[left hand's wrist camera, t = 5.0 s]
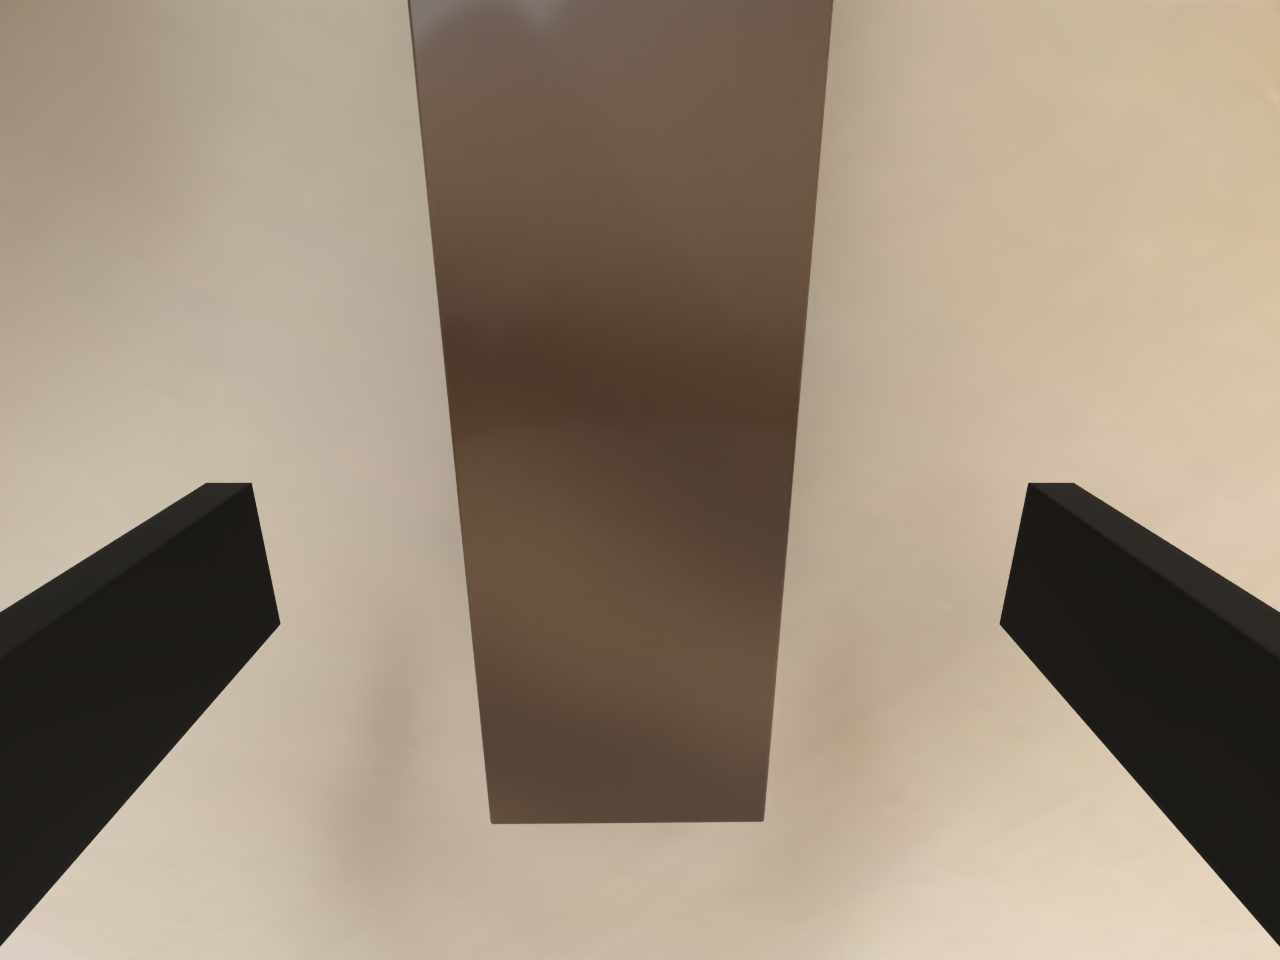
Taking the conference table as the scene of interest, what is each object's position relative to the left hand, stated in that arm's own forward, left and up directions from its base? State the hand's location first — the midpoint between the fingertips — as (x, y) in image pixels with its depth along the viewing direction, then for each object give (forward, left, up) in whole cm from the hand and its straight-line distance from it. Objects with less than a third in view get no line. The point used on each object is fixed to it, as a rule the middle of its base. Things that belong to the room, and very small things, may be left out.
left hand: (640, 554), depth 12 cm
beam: (+2, +26, -8) cm, 27 cm away
